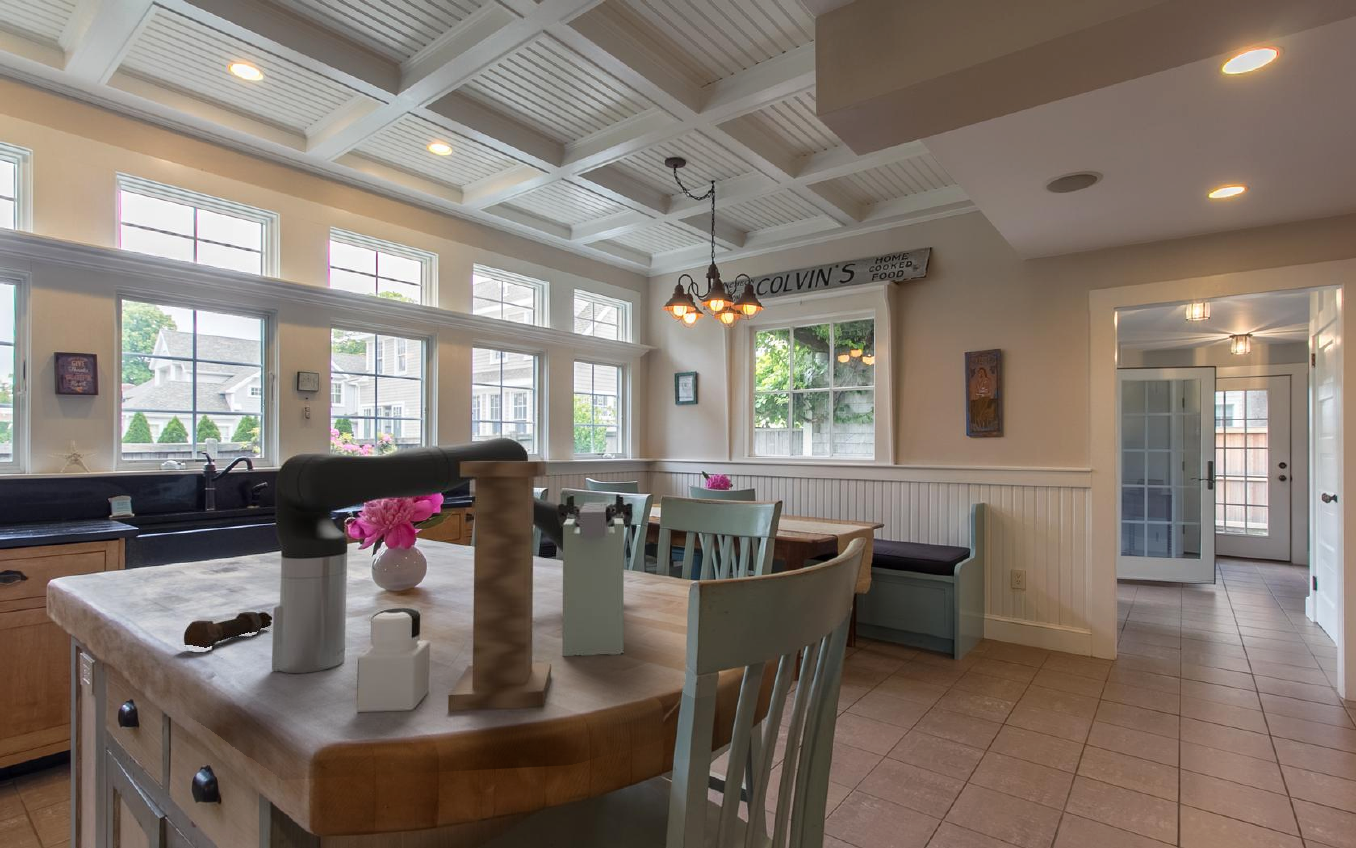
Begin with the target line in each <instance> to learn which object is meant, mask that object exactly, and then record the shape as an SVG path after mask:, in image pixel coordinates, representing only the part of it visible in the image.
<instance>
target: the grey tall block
mask: <svg viewBox="0 0 1356 848" xmlns="http://www.w3.org/2000/svg"><path fill="white" fill-rule="evenodd" d="M624 528H625V527H624V523H623V519H622V518H614V527H606V533H605V538H579V531H580V527H575V519H567V520H566V521H565V523H564V524H563V552H562V632H561V633H562V639H561V640H562V642H561V643H562V648H561V649H562V651H561V653H562V655H561V656H562V657H575V656H574V655H577V656H578V655H581V656H596V655H595V654H610V655H622V654H621V653H623V654H624V601H625V600H624V592H625V591H624V585H625V584H624V581H625V580H624V578H625V577H624V575H625V574H624V572H625V571H624V563H625V562H624V561H625V560H624V558H625V555H624V552H625V551H624V548H625V547H624V545H625V544H624V543H625V542H624V541H625V537H624V535H625V533H624V531H625V529H624Z"/></svg>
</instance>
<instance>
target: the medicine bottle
mask: <svg viewBox="0 0 1356 848" xmlns="http://www.w3.org/2000/svg"><path fill="white" fill-rule="evenodd" d="M370 622H371V623H370V645H371V647H370V648H368V649H367V650H366V651H365V652H363V653H362V654H360V655H359V656H358V658H357V687H356V690H357V691H356V711H357V712H358V713H377V712H381V713H382V712H383V713H384V712H407V711H410V712H411V711H413V710H414V709H416V707H417V706H418V705H419V703H421V701H422V700H423V699H424V698H425V696H426V695H427V694H428V693H429V691H430V664H431V663H430V659H431V658H430V656H431V655H430V653H431V651H430V650H431V647H430V646H431V642H430V641H429V640H428V639H427V640H420V638H421V637H420V636H421V613H420V612H419V611H418V610H415V609H413V608H408V607H407V608H406V607H404V608H403V607H399V608H398V607H397V608H396V607H395V608H391V609H390V608H389V609H384V610H380V611H379V612H377V613H376V614H373V616H372V617H371V619H370Z"/></svg>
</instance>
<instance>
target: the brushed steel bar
mask: <svg viewBox="0 0 1356 848" xmlns="http://www.w3.org/2000/svg"><path fill="white" fill-rule="evenodd" d="M582 506H583V507H582V509H581V511H580V531H579V538H605V533H606V507H607V502H606V501H605V502H604V501H602V502H601V501H598V502H597V501H590V502H584V504H582Z"/></svg>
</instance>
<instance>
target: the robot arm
mask: <svg viewBox="0 0 1356 848" xmlns="http://www.w3.org/2000/svg"><path fill="white" fill-rule="evenodd" d="M467 461H529V457H528V452H527V450H526V448H524V446H523V445H522V444H520V442H518V441H516V440H514V439H511V438H508V437H507V438H506V437H497V438H496V437H495V438H492V439H488V440H483V441H477V442H471V443H462V444H461V443H460V444H449V445H429V446H425V445H424V446H417V447H416V446H415V447H408V448H407V447H406V448H403V449H399V450H396V451H394V452H391V453H388V454H384V455H349V454H341V453H340V454H338V453H301V454H296V455H294V456H291V457H290V458H288V459H287V460H286V461H284V463H282V465H281V467H280V468H279V470H278V472H277V475H276V479H275V488H274V490H275V491H274V506H275V508H274V510H275V512H274V513H275V533H276V537H277V540H278V543H279V545H280V549H281V552H280V554H281V555H280V556H281V557H280V593H279V605H277V606H274V608H273V612H272V613H273V615H272V645H271V646H272V653H271V671H272V670H280V671H279V672H283V673H288V674H299V673H302V674H303V673H311V672H319V671H323V670H328V669H331V668H333V667H336V666H339V665H340V664H342V663H344V661H345V659H346V658H345V655H346V627H347V626H346V623H347V621H346V620H347V617H346V616H347V585H348V584H347V583H348V582H347V581H348V578H347V577H348V571H347V570H348V547H349V546H348V543H349V542H348V538H347V537H348V536H347V535H346V534H345V533H344V532H343V531H341V530H340V529H339V528H338V527H337V526H336V524H335V523H334V520H333V518H332V512H336V511H340V510H344V509H347V508H352V507H355V506H358V505H362V504H365V503H369V502H374V501H377V500H382V499H392V498H393V499H407V498H419V497H425V496H433V495H437V494H442V493H445V492H448V491H451V490H453V489H456V488H458V487H461V486H463V485H465V484H466V483H468V482H470V481H472V480H475V477H460V462H467ZM565 500H566V501H565V502H566V503H565V504H566V505H565V504H563V503H559V504H556V503H553V502H550V501H547V500H544V499H541V498H538V497H536V496H534V519H533V526H535V528H537V529H538V530H539V531H540V532H542V533H543V534H544V536H546V537H547V539H548V540H550V541H551V543H553V544H554V546H556V547H557V548H558V550H560V551H561V552H562V553H563V524H564V523H565V521H566V520H567V519H575V527H580V511H581V509H582V507H583V504H576V503H575V495H574V494H569V496H567V498H566V499H565ZM624 502H625V501H624V497H623V496H621V494H620V493H617V494H615V503H614V504H612V503H610V504H609V505H606V527H614V518H622V519H623V523H624V528H630V527H631V525H632V520H633V516H634V515H633V503H632V502H631V503H630V502H629V503H626V504H624Z"/></svg>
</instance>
